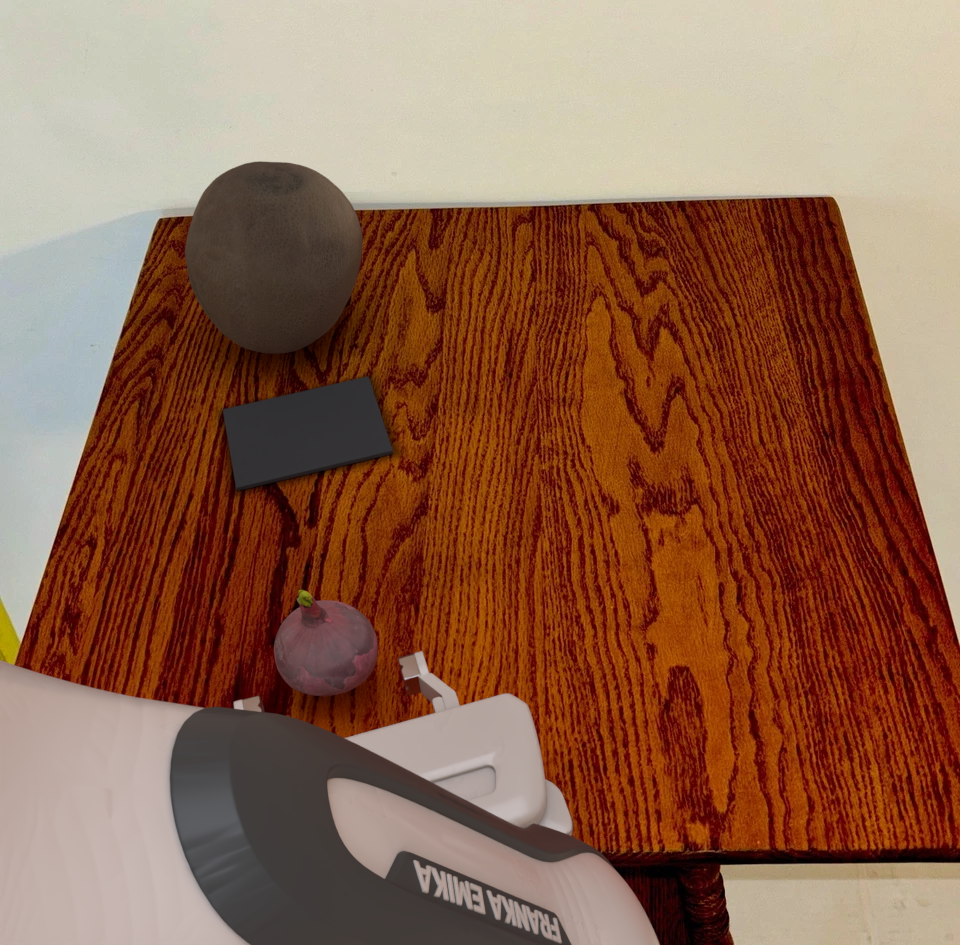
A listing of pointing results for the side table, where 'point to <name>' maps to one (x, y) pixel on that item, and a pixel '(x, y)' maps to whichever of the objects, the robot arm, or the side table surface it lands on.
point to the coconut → (273, 255)
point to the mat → (305, 433)
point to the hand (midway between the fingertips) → (330, 680)
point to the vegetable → (325, 647)
